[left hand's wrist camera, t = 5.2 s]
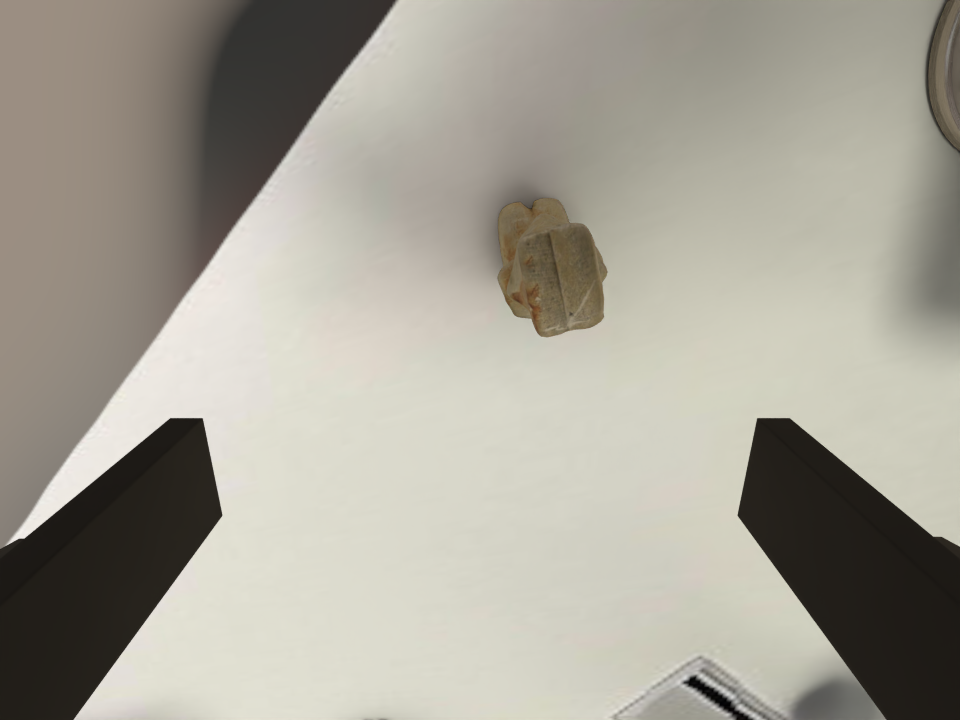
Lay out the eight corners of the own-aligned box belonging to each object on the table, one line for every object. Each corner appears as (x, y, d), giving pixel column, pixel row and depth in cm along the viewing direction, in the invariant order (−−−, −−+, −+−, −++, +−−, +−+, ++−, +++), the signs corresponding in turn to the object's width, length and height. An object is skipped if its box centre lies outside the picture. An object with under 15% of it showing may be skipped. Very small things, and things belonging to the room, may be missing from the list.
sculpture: (571, 191, 36) (628, 209, 22) (579, 293, 39) (636, 367, 25) (486, 204, 37) (491, 230, 23) (500, 305, 39) (512, 384, 25)
